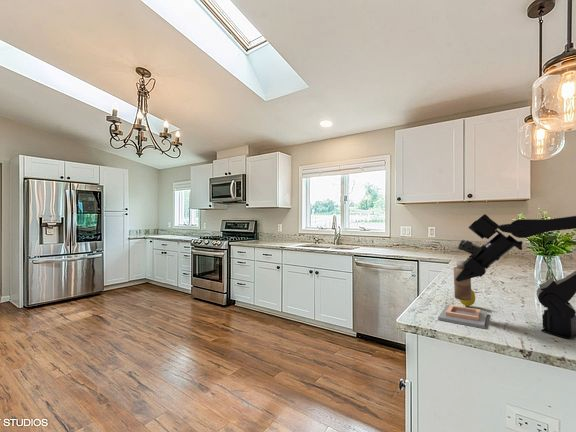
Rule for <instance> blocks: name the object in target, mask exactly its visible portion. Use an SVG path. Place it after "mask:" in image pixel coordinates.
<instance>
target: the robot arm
mask: <svg viewBox="0 0 576 432" xmlns="http://www.w3.org/2000/svg"><path fill="white" fill-rule="evenodd" d="M468 229H469V230H470V231H472V232H473V233H474V234H475V235H477V237H479V238H480V239H481V240H483V239H487V240H489V239H490V238H491V237H492V238H491V239H490V240H489V241H488V242H486V243H485V244H481V246H479V245H477V244H476V243H474V242H472V241H470V240H465V239H462V240H460V242H459V244H458V246H457V250H460V251H464V252H465V253H468V254H469V256H468V257H467V258H466V259H465V260H463V261H464V269H463V270H462V272H461V273H460V274H459V275H458V277H457V278H456V281H457V282H459V281H463V280H466V279H470V278H471V279H473V278H476V277H479V278H482V277H483V276H484V275H485V274H486V273H487V269H488V268H490V267H491V265H493V264H494V263H495V262H496V261H499V260H500V259H501V257H503V256H504V255H506V254H507V253H508V252H510V251H511V250H512V249H513V248H514V247H515V248H516V249H518V250H520V251H522V250H523V242H524V241H523V240H517V239H518V238H519V239H525V238H529V237H533V236H537V235H541V234H544V233H548V232H556V231H566V230H574V229H575V230H576V215H570V216H564V217H563V216H562V217H554V218H548V219H545V218H544V219H541V218H536V219H535V218H534V219H533V218H531V219H530V218H528V219H527V218H526V219H525V218H524V219H523V218H522V219H521V218H519V219H514V220H513V221H511V223H505V224H504V223H502V224H498V223H497V222H495V221H494V220H493V219H492V218H490V216H489V215H487V214H485V213H484V214H483V215H482V216H480V217H479V218H478V219H476V220H475V221H473V222H472V223H471V224H470V225H469V226H468ZM502 232H503V233H502ZM496 233H497V234H496ZM504 233H507V234H508V233H509V234H508V235H507V236H506V235H505V234H504ZM495 234H496V235H495ZM510 234H511V235H510ZM493 235H495V236H493ZM514 237H515V238H514ZM516 238H517V239H516ZM538 286H539V287H538V288H537V289H536V296H537V299H538V302H539V304H540V305H541V306H542V307H544V308H546V309H544V310H543V313H542V316H541V317H542V328H541V332H544V333H546V334H550V335H554V336H557V337H560V338H563V339H566V340H571V339H573V338H576V309H575V308H574V307H573V305H572V303H570V301H571V300H572V298H573V297H574V296H575V295H576V270H575V271H574V272H572V273H570V274H568V275H567V276H565V277H562V278H560V279H558V280H555V279H554V278H553V277H549V278H548V279H547V280H546V281H545V282H543V283H540V284H538Z"/></svg>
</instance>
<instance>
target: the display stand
mask: <svg viewBox="0 0 576 432" xmlns="http://www.w3.org/2000/svg"><path fill="white" fill-rule="evenodd" d="M487 319H488V311H487V310H483V309H479V308H472V307H466V306H459V305H454V304H449V305H448V304H446V305H445V306H444V308H443V310H441V312H440V313H439V315H438V317H437V321H440V320H441V321H440V322H446V323H452V324H457V325H462V326H463V325H464V326H467V327H474V328H479V329H485V328H486V324H487V323H486V322H487Z"/></svg>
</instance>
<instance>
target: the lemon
mask: <svg viewBox="0 0 576 432" xmlns="http://www.w3.org/2000/svg"><path fill="white" fill-rule="evenodd" d="M471 297H472V299H471V300H460V299H458V301H459V302H460V303H461V305H463V306H464V307H467V308H470V306H472V305H474V304H475V302H476V295H475V292H474V290H473V289H472V288H471Z"/></svg>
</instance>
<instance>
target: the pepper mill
mask: <svg viewBox="0 0 576 432" xmlns="http://www.w3.org/2000/svg"><path fill="white" fill-rule="evenodd" d="M464 261H465V260H456V267H453V285H454V287H453V290H454V298H455V299H456V300H459V299H460V300H471V299H472V297H471V289H472V278H470V279H466V280H463V281H459V282H457V281H456V278H457V277H458V275H459V274H460V273H461V272H462V270H463V269H464ZM460 300H459V301H460Z"/></svg>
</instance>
